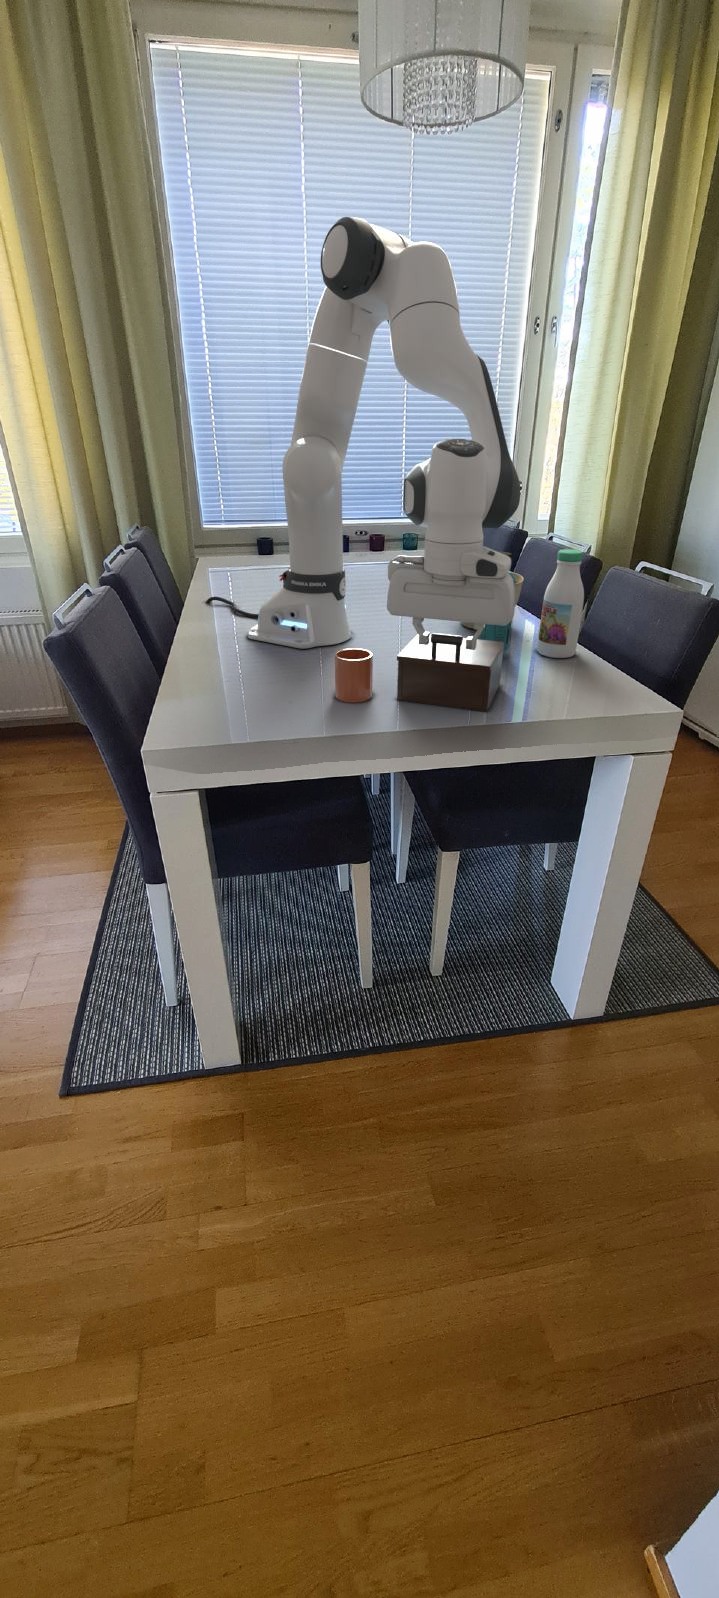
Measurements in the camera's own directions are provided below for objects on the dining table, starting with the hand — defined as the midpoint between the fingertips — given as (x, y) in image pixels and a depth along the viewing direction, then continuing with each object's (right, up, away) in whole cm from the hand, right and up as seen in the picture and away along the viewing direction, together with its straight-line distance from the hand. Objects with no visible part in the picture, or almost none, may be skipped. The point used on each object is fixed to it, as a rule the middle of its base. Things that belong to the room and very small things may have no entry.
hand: (447, 646), depth 114 cm
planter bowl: (+14, +15, +46) cm, 50 cm away
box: (+2, -6, +9) cm, 11 cm away
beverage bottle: (+12, +4, +27) cm, 30 cm away
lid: (+1, 0, +5) cm, 5 cm away
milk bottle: (+26, +5, +28) cm, 39 cm away
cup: (-15, -7, +8) cm, 19 cm away
